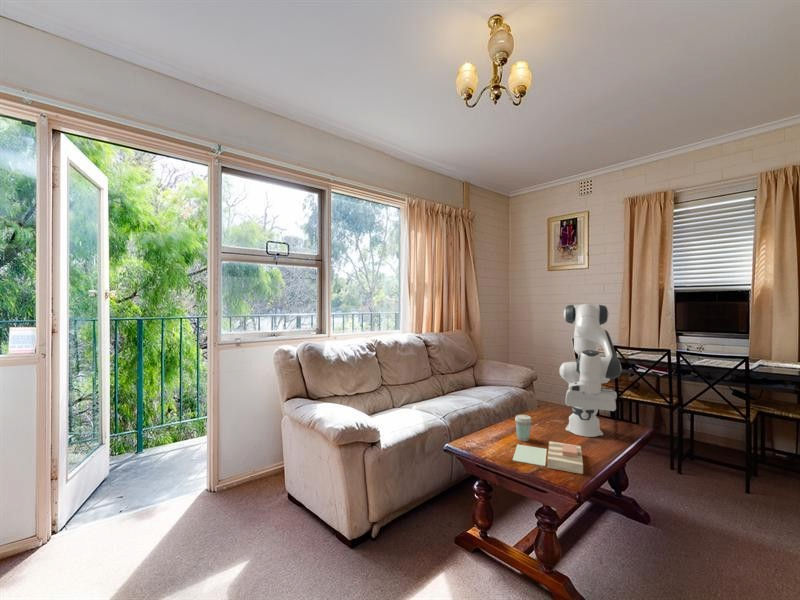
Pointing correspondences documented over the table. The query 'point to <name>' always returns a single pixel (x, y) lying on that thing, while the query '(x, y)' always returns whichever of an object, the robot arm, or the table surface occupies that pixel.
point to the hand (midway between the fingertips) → (589, 417)
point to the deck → (564, 459)
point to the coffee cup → (523, 427)
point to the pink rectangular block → (569, 450)
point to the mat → (530, 455)
